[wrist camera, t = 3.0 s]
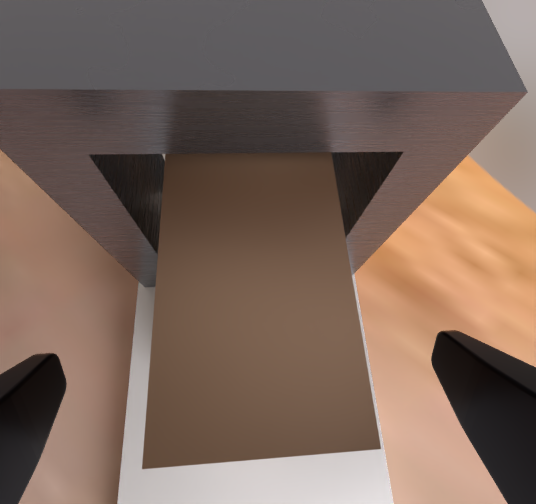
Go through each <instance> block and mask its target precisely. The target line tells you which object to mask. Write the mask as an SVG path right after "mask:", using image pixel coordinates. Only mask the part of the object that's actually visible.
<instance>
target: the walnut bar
mask: <svg viewBox="0 0 536 504" xmlns="http://www.w3.org/2000/svg"><path fill="white" fill-rule="evenodd" d="M377 449H381V445H380V439H379V433H378V427H377V421H376V415H375V409H374V403H373V398H372V392H371V386H370V380H369V374H368V368H367V362H366V356H365V350H364V344H363V338H362V332H361V326H360V320H359V314H358V309H357V303H356V297H355V291H354V285H353V279H352V273H351V267H350V261H349V255H348V249H347V243H346V237H345V231H344V226H343V220H342V214H341V208H340V202H339V196H338V190H337V184H336V178H335V172H334V166H333V160H332V154H331V152H308V153H202V154H165V165H164V179H163V192H162V206H161V219H160V233H159V246H158V260H157V273H156V286H155V300H154V313H153V327H152V340H151V354H150V367H149V381H148V394H147V408H146V421H145V434H144V448H143V461H142V469H152V468H164V467H176V466H188V465H199V464H211V463H223V462H235V461H247V460H258V459H270V458H282V457H294V456H306V455H317V454H329V453H341V452H353V451H365V450H377Z"/></svg>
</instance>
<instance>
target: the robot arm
mask: <svg viewBox="0 0 536 504" xmlns="http://www.w3.org/2000/svg"><path fill="white" fill-rule="evenodd" d="M431 361H432V366H433V368H434V371H435V373H436V375H437V377H438V379H439V381H440V383H441V385H442V387H443V389H444V391H445V393H446V396H447V398H448V400H449V402H450V404H451V406H452V408H453V410H454V412H455V414H456V416H457V418H458V420H459V422H460V424H461V426H462V428H463V430H464V431H465V433H466V435H467V437H468V438H469V440H470V442H471V443H472V445H473V447H474V448H475V450H476V452H477V453H478V455H479V457H480V458H481V460H482V462H483V463H484V465H485V467H486V468H487V470H488V472H489V473H490V475H491V477H492V478H493V480H494V482H495V483H496V485H497V487H498V488H499V490H500V492H501V493H502V495H503V497H504V498H505V500H506V502H507V503H508V504H536V367H534V366H532V365H529V364H527V363H525V362H523V361H521V360H519V359H517V358H515V357H512V356H510V355H508V354H506V353H504V352H502V351H500V350H498V349H495V348H493V347H491V346H489V345H487V344H485V343H483V342H481V341H479V340H476V339H474V338H472V337H470V336H468V335H466V334H464V333H462V332H459V331H456V330H450V331H441V332H439V333H438V334H437V337H436V341H435V345H434V349H433V353H432V358H431ZM65 391H66V378H65V375H64V372H63V369H62V366H61V363H60V360H59V357H58V356H57V355H56V354H54V353H45V354H35V355H33V356H31V357H29V358H28V359H26V360H24V361H23V362H21V363H19V364H17V365H16V366H14V367H12V368H11V369H9V370H7V371H6V372H4V373H2V374H0V504H18V503H19V501H20V499H21V497H22V495H23V493H24V491H25V489H26V487H27V485H28V483H29V481H30V479H31V477H32V475H33V472H34V470H35V468H36V466H37V464H38V462H39V459H40V457H41V454H42V452H43V449H44V447H45V444H46V442H47V439H48V436H49V434H50V431H51V428H52V426H53V423H54V420H55V418H56V415H57V412H58V410H59V407H60V404H61V402H62V399H63V397H64V394H65Z"/></svg>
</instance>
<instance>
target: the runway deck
mask: <svg viewBox="0 0 536 504" xmlns="http://www.w3.org/2000/svg"><path fill="white" fill-rule="evenodd" d="M162 155H163V158H164V160H165V154H162ZM352 279H353V285H354V291H355V297H356V303H357V309H358V314H359V320H360V326H361V332H362V338H363V344H364V350H365V356H366V362H367V368H368V374H369V380H370V386H371V392H372V398H373V403H374V409H375V415H376V421H377V427H378V433H379V439H380V445H381V449H377V450H365V451H353V452H341V453H329V454H317V455H306V456H294V457H282V458H270V459H258V460H247V461H235V462H223V463H211V464H199V465H188V466H176V467H164V468H152V469H142V461H143V448H144V434H145V421H146V408H147V394H148V381H149V367H150V354H151V340H152V327H153V313H154V300H155V287H144V286H143V285H142V284H141V283H140V282H138V293H137V303H136V314H135V324H134V335H133V345H132V356H131V366H130V377H129V387H128V397H127V408H126V418H125V429H124V439H123V450H122V460H121V471H120V481H119V492H118V502H117V504H394V503H393V497H392V491H391V485H390V479H389V474H388V468H387V462H386V456H385V450H384V444H383V439H382V433H381V427H380V421H379V415H378V410H377V404H376V398H375V392H374V386H373V380H372V375H371V369H370V363H369V357H368V351H367V345H366V340H365V334H364V328H363V322H362V316H361V311H360V305H359V299H358V293H357V287H356V281H355V276H354V274H353V275H352Z"/></svg>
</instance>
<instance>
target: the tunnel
mask: <svg viewBox="0 0 536 504" xmlns="http://www.w3.org/2000/svg"><path fill="white" fill-rule="evenodd" d="M526 93H527V90H526V88H525V86H524V84H523V82H522V80H521V78H520V76H519V74H518V72H517V70H516V68H515V66H514V64H513V62H512V60H511V58H510V56H509V54H508V52H507V50H506V48H505V46H504V44H503V42H502V40H501V38H500V36H499V34H498V32H497V30H496V28H495V26H494V24H493V22H492V20H491V18H490V16H489V14H488V12H487V10H486V8H485V6H484V4H483V2H482V0H0V149H1V150H2V151H3V152H4V153H5V154H6V155H7V156H8V157H9V158H10V159H11V160H12V161H13V162H14V163H15V164H17V165H18V166H19V167H20V168H21V169H22V170H23V171H24V172H25V173H26V174H27V175H28V176H29V177H30V178H31V179H32V180H33V181H34V182H35V183H36V184H37V185H38V186H39V187H41V188H42V189H43V190H44V191H45V192H46V193H47V194H48V195H49V196H50V197H51V198H52V199H53V200H54V201H55V202H56V203H57V204H58V205H59V206H60V207H61V208H62V209H64V210H65V211H66V212H67V213H68V214H69V215H70V216H71V217H72V218H73V219H74V220H75V221H76V222H77V223H78V224H79V225H80V226H81V227H82V228H83V229H84V230H85V231H87V232H88V233H89V234H90V235H91V236H92V237H93V238H94V239H95V240H96V241H97V242H98V243H99V244H100V245H101V246H102V247H103V248H104V249H105V250H106V251H107V252H108V253H109V254H111V255H112V256H113V257H114V258H115V259H116V260H117V261H118V262H119V263H120V264H121V265H122V266H123V267H124V268H125V269H126V270H127V271H128V272H129V273H130V274H131V275H132V276H134V277H135V278H136V279H137V280H138V281H139V282H140V283H141V284H142V285H143V286H144V287H155V286H156V273H157V260H158V246H159V233H160V219H161V206H162V192H163V179H164V165H165V160H164V158H163V155H162V154H202V153H308V152H331V154H332V160H333V166H334V172H335V178H336V184H337V190H338V196H339V202H340V208H341V214H342V220H343V226H344V231H345V237H346V243H347V249H348V255H349V261H350V267H351V273H352V275H353V274H354V273H355V272H356V271H357V270H358V269H359V268H360V267H361V266H362V265H363V264H364V263H365V262H366V261H367V260H368V258H369V257H370V256H371V255H372V254H373V253H374V252H375V251H376V250H377V249H378V248H379V247H380V246H381V245H382V244H383V243H384V242H385V241H386V240H387V239H388V238H389V237H390V235H391V234H392V233H393V232H394V231H395V230H396V229H397V228H398V227H399V226H400V225H401V224H402V223H403V222H404V221H405V220H406V219H407V218H408V217H409V216H410V215H411V214H412V212H413V211H414V210H415V209H416V208H417V207H418V206H419V205H420V204H421V203H422V202H423V201H424V200H425V199H426V198H427V197H428V196H429V195H430V194H431V193H432V192H433V191H434V189H435V188H436V187H437V186H438V185H439V184H440V183H441V182H442V181H443V180H444V179H445V178H446V177H447V176H448V175H449V174H450V173H451V172H452V171H453V170H454V169H455V168H456V166H457V165H458V164H459V163H460V162H461V161H462V160H463V159H464V158H465V157H466V156H467V155H468V154H469V153H470V152H471V151H472V150H473V149H474V148H475V147H476V146H477V145H478V144H479V142H480V141H481V140H482V139H483V138H484V137H485V136H486V135H487V134H488V133H489V132H490V131H491V130H492V129H493V128H494V127H495V126H496V125H497V124H498V123H499V122H500V120H501V119H502V118H503V117H504V116H505V115H506V114H507V113H508V112H509V111H510V110H511V109H512V108H513V107H514V106H515V105H516V104H517V103H518V102H519V101H520V99H522V98H523V96H524V95H525V94H526Z"/></svg>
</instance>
